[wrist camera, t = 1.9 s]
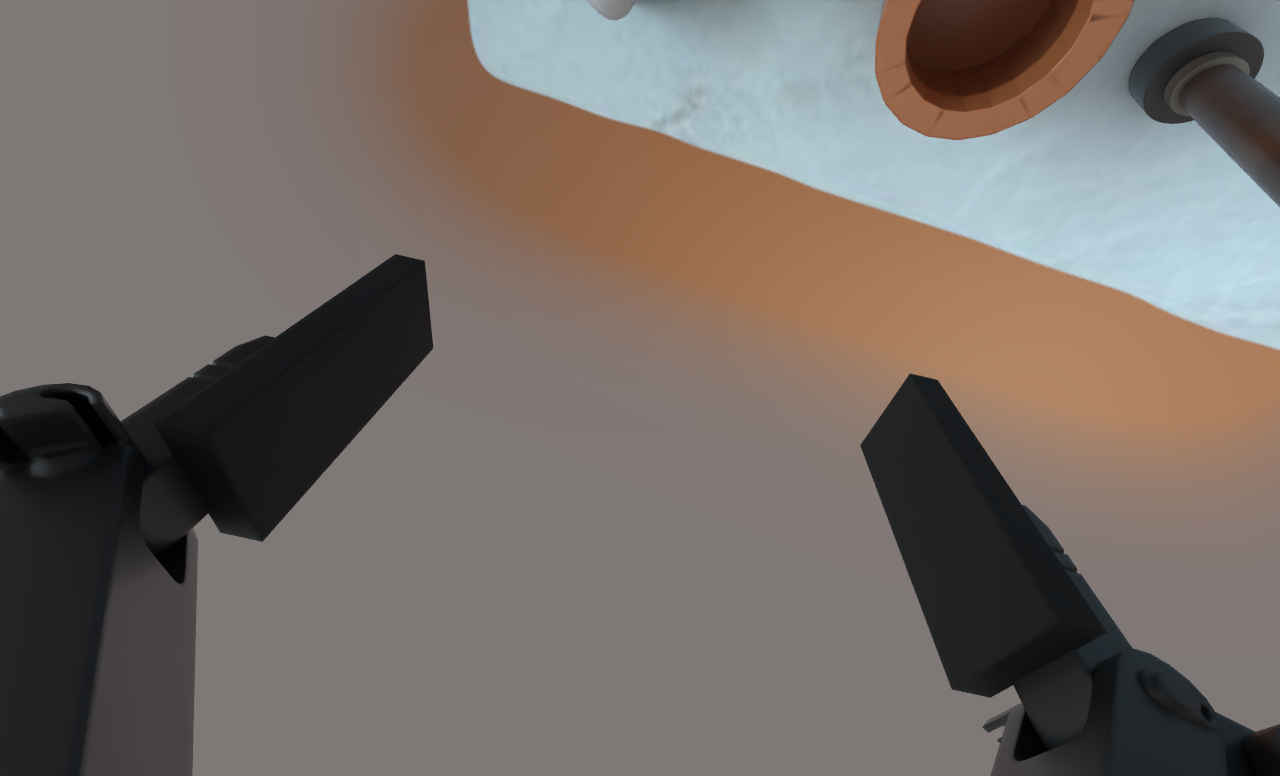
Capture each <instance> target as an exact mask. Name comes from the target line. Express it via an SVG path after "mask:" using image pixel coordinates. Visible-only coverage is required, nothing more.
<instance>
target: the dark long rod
mask: <svg viewBox="0 0 1280 776" xmlns="http://www.w3.org/2000/svg"><path fill="white" fill-rule="evenodd" d="M1263 58H1264V50H1263V46H1262V44H1261V42H1260V41H1259V40H1258V39H1257V38H1256V37H1254V36H1253V35H1251V34H1249V33H1248V32H1246V31H1244V30H1243V29H1241V28H1239V27H1237V26H1236V25H1234V24H1232V23H1231V22H1229V21H1227V20H1224V19H1218V18H1207V19H1201V20H1196V21H1193V22H1190V23H1187V24H1184V25H1182V26H1180V27H1178V28H1176V29H1174V30H1172V31H1170V32H1169V33H1167V34H1165V35H1164V36H1162V37H1161V38H1160V39H1158V40H1157V41H1156V42H1155V43H1153V44H1152V45H1151V46H1150V47H1149V48H1148V49H1147V50H1146V51H1145V52H1144V53H1143V54H1142V56H1141V57H1140V58H1139V60H1138V61H1137V63H1136V64H1135V66H1134V68H1133V70H1132V72H1131V75H1130V79H1129V91H1130V93H1131V95H1132V97H1133V98H1134V99H1135V100H1136V102H1137V103H1138V104H1139V105H1140V106H1141V108H1142V109H1143V110H1144V111H1145V112H1146V114H1147V115H1148V116H1149V117H1150V118H1152V119H1153V120H1155V121H1158V122H1162V123H1169V124H1175V123H1184V122H1189V121H1193V120H1195V121H1196V122H1197V123H1198V124H1199V125H1200V126H1201V127H1202V128H1203V129H1204V130H1205V131H1206V132H1207V133H1208V135H1209V136H1210V137H1211V138H1212V139H1213V140H1214V141H1215V142H1216V143H1217V144H1218V145H1219V146H1220V147H1221V148H1222V149H1223V150H1224V151H1225V152H1226V153H1227V154H1228V155H1229V156H1230V157H1231V158H1232V159H1233V160H1234V161H1235V162H1236V163H1237V164H1238V165H1239V166H1240V167H1241V168H1242V169H1243V170H1244V171H1245V172H1246V173H1247V174H1248V175H1249V176H1250V177H1251V178H1252V179H1253V180H1254V181H1255V182H1256V183H1257V184H1258V186H1259V187H1260V188H1261V189H1262V190H1263V191H1264V192H1265V193H1266V194H1267V195H1268V196H1269V197H1270V198H1271V199H1272V200H1273V201H1274V202H1275V203H1276V204H1277V205H1278V206H1279V207H1280V97H1278V96H1277V95H1275V94H1274V93H1273V92H1271V91H1270V90H1269V89H1267V88H1266V87H1264V86H1263V85H1262V84H1260V83H1259V82H1257V81H1256V80H1255V77H1256V76H1257V74H1258V72H1259V70H1260V68H1261V65H1262V63H1263Z"/></svg>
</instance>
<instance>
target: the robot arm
mask: <svg viewBox="0 0 1280 776" xmlns="http://www.w3.org/2000/svg"><path fill="white" fill-rule="evenodd" d="M432 349H433V341H432V331H431V320H430V310H429V300H428V290H427V280H426V270H425V261H423V260H418V259H414V258H409V257H405V256H401V255H397V254H395V255H394V256H392V257H391V258H389V259H388V260H386V261H385V262H384V263H382V264H381V265H379V266H378V267H376V268H375V269H373V270H372V271H371V272H369V273H368V274H366V275H365V276H363V277H362V278H360V279H359V280H358V281H356V282H355V283H353V284H352V285H350V286H349V287H348V288H346V289H345V290H343V291H342V292H340V293H339V294H337V295H336V296H335V297H333V298H332V299H330V300H329V301H327V302H326V303H324V304H323V305H322V306H320V307H319V308H317V309H316V310H314V311H313V312H311V313H310V314H309V315H307V316H306V317H304V318H303V319H301V320H300V321H299V322H297V323H296V324H294V325H293V326H291V327H290V328H288V329H287V330H286V331H284V332H283V333H281V334H280V335H278V336H277V337H276V338H274V337H269V336H263V337H260V338H257V339H255V340H252V341H249V342H247V343H244V344H241V345H238V346H236V347H234V348H233V349H231V350H230V351H228V352H226V353H225V354H224V355H222V356H220V357H219V358H217V359H216V360H214V361H213V364H212V365H209V364H208V365H207V366H205V367H203V368H202V369H200V370H199V371H198V372H196V373H194V377H193V378H191V377H188V378H187V379H185V380H184V381H182V382H181V383H179V384H178V385H176V386H174V387H173V388H171V389H170V390H168V391H167V392H165V393H164V394H162V395H161V396H159V397H158V398H156V399H155V400H153V401H152V402H150V403H148V404H147V405H146V406H144V407H142V408H141V409H139V410H138V411H136V412H135V413H133V414H132V415H130V416H129V417H127V418H126V419H124V420H122V421H121V422H120V421H119V419H118V418H117V416H116V415H115V413H114V412H113V410H112V409H111V407H110V406H109V404H108V403H107V401H106V400H105V398H104V397H103V396H102V394H101V393H100V392H99V391H97V390H95V389H93V388H91V387H90V386H85V385H78V384H70V383H66V384H50V385H42V386H36V387H32V388H27V389H22V390H18V391H14V392H11V393H9V394H6V395H3V396H1V397H0V776H192V762H193V761H192V760H193V721H194V679H195V637H196V595H197V594H196V593H197V554H198V540H197V537H196V534H195V531H194V530H193V527H194V526H195V525H196V524H197V523H198V522H199V521H200V520H201V519H202V518H204V517H205V516H206V515H207V514H208V513H209V515H210V516H211V518H212V519H213V521H214V523H215V524H216V526H217V528H218V529H219V531H220V532H221V533H225V534H229V535H234V536H239V537H243V538H248V539H253V540H257V541H262V542H263V540H264V539H265V538H266V537H267V536H268V535H269V534H270V533H271V531H272V530H273V529H274V528H275V527H276V525H278V523H279V522H280V521H281V520H282V519H283V518H284V517H285V516H286V514H287V513H288V512H289V511H290V510H291V509H292V508H293V506H294V505H295V504H296V503H297V502H298V501H299V500H300V499H301V497H302V496H303V495H304V494H305V493H306V492H307V491H308V490H309V488H310V487H311V486H312V485H313V484H314V483H315V482H316V480H317V479H318V478H319V477H320V476H321V474H323V472H324V471H325V470H326V469H327V468H328V467H329V466H330V465H331V463H332V462H333V461H334V460H335V459H336V458H337V457H338V456H339V454H340V453H341V452H342V451H343V450H344V449H345V448H346V446H347V445H348V444H349V443H350V442H351V441H352V440H353V438H354V437H355V436H356V435H357V434H358V433H359V432H360V431H361V429H362V428H363V427H364V426H365V425H366V424H367V423H368V422H369V420H370V419H371V418H372V417H373V416H374V415H375V414H376V412H377V411H378V410H379V409H380V408H381V407H382V406H383V405H384V403H385V402H386V401H387V400H388V399H389V398H390V397H391V396H392V394H393V393H394V392H395V391H396V390H397V389H398V388H399V386H400V385H401V384H402V383H403V382H404V381H405V380H406V378H407V377H408V376H409V375H410V374H411V373H412V372H413V371H414V369H415V368H416V367H417V366H418V365H419V364H420V363H421V362H422V360H423V359H424V358H425V357H426V356H427V355H428V354H429V352H430V351H431V350H432ZM861 448H862V451H863V454H864V456H865V459H866V462H867V464H868V467H869V470H870V472H871V475H872V478H873V480H874V483H875V486H876V488H877V491H878V494H879V496H880V499H881V502H882V504H883V507H884V510H885V512H886V515H887V517H888V520H889V523H890V525H891V528H892V531H893V534H894V536H895V539H896V542H897V544H898V547H899V550H900V552H901V555H902V558H903V560H904V563H905V566H906V568H907V570H908V574H909V576H910V579H911V582H912V584H913V587H914V590H915V592H916V595H917V598H918V600H919V603H920V606H921V608H922V611H923V614H924V616H925V619H926V622H927V624H928V627H929V630H930V632H931V635H932V637H933V640H934V643H935V646H936V648H937V651H938V654H939V656H940V659H941V662H942V664H943V667H944V670H945V672H946V675H947V678H948V680H949V683H950V686H951V688H952V689H953V690H958V691H962V692H967V693H972V694H977V695H981V696H986V697H990V698H991V697H992V696H994V695H996V694H998V693H1000V692H1001V691H1003V690H1005V689H1007V688H1009V687H1010V686H1012V685H1014V687H1015V689H1016V691H1017V693H1018V695H1019V698H1020V700H1021V702H1022V703H1020V704H1018V705H1016V706H1014V707H1013V708H1010V709H1009V710H1007V711H1005V712H1003V713H1001V714H999V715H997V716H995V717H993V718H991V719H989V720H988V721H987V722H986V723H985V724H984V726H983V728H984V729H985V730H986V731H987V732H990V731H992V730H994V729H996V728H998V727H1000V726H1005V729H1004V733H1003V736H1002V737H1001V738H999V739H998V741H999V742H1000V746H999V749H998V753H997V756H996V759H995V763H994V766H993V769H992V773H991V776H1280V724H1279V725H1276V726H1273V727H1270V728H1266V729H1263V730H1260V731H1257V732H1254V731H1252V730H1251V729H1249V728H1246V727H1245V726H1242V725H1240V724H1238V723H1236V722H1234V721H1232V720H1230V719H1228V718H1226V717H1224V716H1222V715H1220V714H1218V713H1216V712H1215V711H1214V710H1213V708H1212V707H1211V705H1210V704H1209V702H1208V701H1207V699H1206V698H1205V697H1204V696H1203V695H1202V694H1201V693H1200V692H1199V691H1198V690H1197V688H1196V687H1195V686H1193V684H1192V683H1191V682H1190V681H1189V680H1188V679H1186V678H1185V677H1184V676H1183V675H1181V674H1180V673H1179V672H1178V671H1176V670H1175V669H1174V668H1172V667H1171V666H1170V665H1169V664H1167V663H1165V662H1164V661H1162V660H1160V659H1159V658H1157V657H1155V656H1153V655H1152V654H1149V653H1146V652H1143V651H1139V650H1136V649H1133V648H1132V647H1131V645H1130V644H1129V643H1128V641H1127V640H1126V638H1125V637H1124V635H1123V634H1122V633H1121V631H1120V630H1119V628H1118V627H1117V625H1116V624H1115V622H1114V621H1113V620H1112V618H1111V617H1110V615H1109V614H1108V612H1107V611H1106V610H1105V608H1104V607H1103V605H1102V604H1101V602H1100V601H1099V599H1098V598H1097V597H1096V595H1095V594H1094V592H1093V591H1092V590H1091V588H1090V587H1089V585H1088V584H1087V582H1086V581H1085V579H1084V578H1083V576H1082V575H1081V574H1078V573H1077V568H1076V566H1075V565H1074V564H1073V562H1072V561H1071V559H1070V558H1069V556H1068V555H1066V554H1064V553H1063V552H1064V549H1063V548H1062V547H1061V545H1060V543H1059V542H1058V541H1057V539H1056V538H1055V536H1054V535H1053V533H1052V532H1051V531H1050V529H1049V528H1048V527H1047V526H1046V525H1045V524H1044V523H1043V522H1042V521H1041V520H1040V519H1039V518H1038V517H1037V516H1036V515H1035V514H1034V513H1033V512H1032V511H1031V510H1029V508H1027V507H1026V506H1024V505H1021V503H1020V502H1019V500H1018V499H1017V497H1016V496H1015V494H1014V493H1013V491H1012V490H1011V488H1010V487H1009V486H1008V484H1007V483H1006V481H1005V480H1004V478H1003V477H1002V475H1001V474H1000V472H999V471H998V469H997V468H996V466H995V465H994V463H993V462H992V461H991V459H990V457H989V456H988V454H987V453H986V451H985V450H984V448H983V447H982V445H981V444H980V442H979V441H978V440H977V438H976V437H975V435H974V434H973V432H972V431H971V429H970V428H969V426H968V425H967V423H966V422H965V420H964V419H963V417H962V416H961V414H960V413H959V411H958V410H957V408H956V407H955V405H954V404H953V402H952V401H951V399H950V398H949V397H948V395H947V393H946V392H945V390H944V389H943V387H942V386H941V385H940V383H939V382H938V380H935V379H931V378H927V377H923V376H918V375H914V374H909V376H908V377H907V379H906V380H905V382H904V383H903V384H902V386H901V387H900V389H899V390H898V392H897V393H896V395H895V396H894V397H893V399H892V400H891V402H890V403H889V405H888V406H887V408H886V409H885V410H884V412H883V413H882V415H881V416H880V418H879V419H878V421H877V422H876V423H875V425H874V426H873V428H872V429H871V431H870V432H869V434H868V435H867V436H866V438H865V439H864V441H863V442H862V444H861Z"/></svg>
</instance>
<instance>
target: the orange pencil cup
mask: <svg viewBox="0 0 1280 776" xmlns="http://www.w3.org/2000/svg"><path fill="white" fill-rule="evenodd" d="M1133 2H1134V0H884V2H883V7H882V12H881V17H880V22H879V27H878V32H877V37H876V55H875V73H876V79H877V82H878V85H879V88H880V91H881V94H882V97H883V101H884V102H885V104H886V105H887V107H888V108H889V109H890V110H891V111H892V113H893V114H894V115H895V116H896V117H897V118H898V120H899V121H900V122H901V123H902V124H903V125H905V126H907V127H909V128H911V129H913V130H915V131H917V132H919V133H921V134H923V135H925V136H928V137H936V138H944V139H952V140H957V139H958V140H962V139H968V138H974V137H980V136H986V135H992V134H995V133H997V132H999V131H1002V130H1004V129H1007V128H1009V127H1011V126H1014V125H1016V124H1019V123H1021V122H1023V121H1026V120H1028V119H1030V118H1032V117H1034V116H1035V115H1037V114H1038V113H1039V112H1041V111H1042V110H1044V109H1045V108H1047V107H1048V106H1050V105H1051V104H1053V103H1054V102H1055V101H1057V100H1058V99H1060V98H1061V97H1063V96H1064V95H1066V94H1067V93H1068V92H1069V91H1070V90H1071V89H1072V88H1073V87H1074V86H1075V85H1076V84H1077V83H1078V82H1079V81H1080V80H1081V79H1082V78H1083V77H1084V76H1085V75H1086V74H1087V73H1088V72H1089V71H1090V70H1091V69H1092V68H1093V66H1094V65H1095V64H1096V63H1097V62H1098V61H1099V60H1100V59H1101V58H1102V57H1103V56H1104V54H1105V53H1106V51H1107V50H1108V48H1109V46H1110V45H1111V43H1112V42H1113V40H1114V38H1115V37H1116V35H1117V34H1118V32H1119V30H1120V29H1121V27H1122V26H1123V24H1124V22H1125V21H1126V19H1127V18H1128V16H1129V15H1128V14H1129V13H1130V11H1131V8H1132V5H1133Z"/></svg>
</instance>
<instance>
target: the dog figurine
mask: <svg viewBox="0 0 1280 776" xmlns="http://www.w3.org/2000/svg"><path fill="white" fill-rule="evenodd" d="M587 1H588V3H589V4H590V5H591V6H592V7H593V8H594V9H595V10H596V11H597V12H598V13H600V14H601V15H603V16H604V17H606V18H607V19H610V20H618V19H621V18H623V17H624V16H626V15H627V14H628V13H629V12H630V10H631V9H632V7H633V6H634V4H635V3H636V1H637V0H587Z"/></svg>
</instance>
